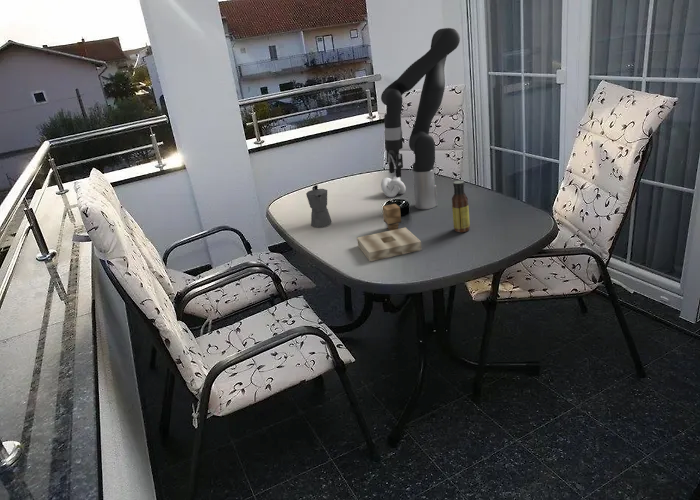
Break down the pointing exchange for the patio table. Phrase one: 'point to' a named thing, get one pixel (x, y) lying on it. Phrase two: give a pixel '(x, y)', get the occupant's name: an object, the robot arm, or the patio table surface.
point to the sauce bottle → (460, 208)
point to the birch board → (388, 244)
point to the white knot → (392, 186)
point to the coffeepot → (318, 207)
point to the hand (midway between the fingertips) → (395, 174)
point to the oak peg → (392, 216)
